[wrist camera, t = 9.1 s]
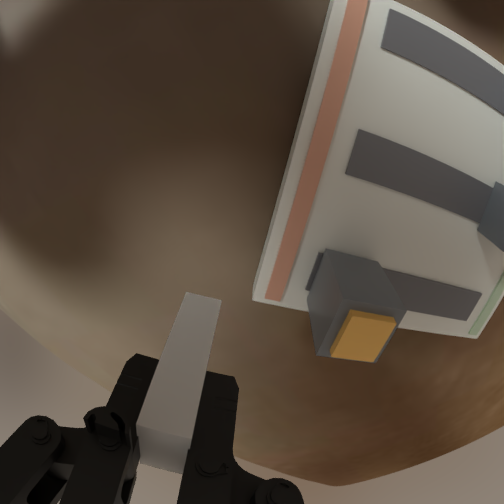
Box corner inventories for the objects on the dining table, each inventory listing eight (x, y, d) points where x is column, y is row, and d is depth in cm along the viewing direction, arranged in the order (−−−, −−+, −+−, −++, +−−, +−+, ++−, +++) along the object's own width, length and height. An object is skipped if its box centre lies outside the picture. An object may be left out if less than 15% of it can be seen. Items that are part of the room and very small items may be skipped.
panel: (253, 285, 22) (247, 363, 15) (332, -11, 13) (368, -63, 7) (468, 326, 23) (504, 383, 17) (553, 119, 14) (617, 139, 8)
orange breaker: (306, 298, 20) (316, 362, 15) (325, 248, 18) (345, 304, 13) (356, 308, 20) (377, 369, 15) (378, 261, 18) (410, 316, 13)
